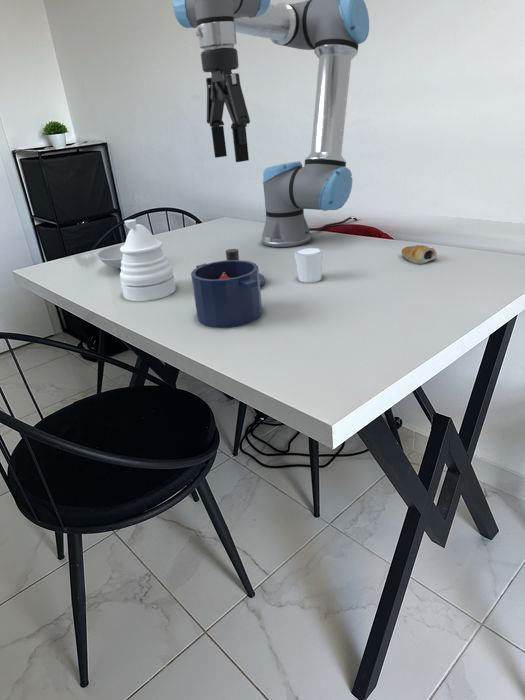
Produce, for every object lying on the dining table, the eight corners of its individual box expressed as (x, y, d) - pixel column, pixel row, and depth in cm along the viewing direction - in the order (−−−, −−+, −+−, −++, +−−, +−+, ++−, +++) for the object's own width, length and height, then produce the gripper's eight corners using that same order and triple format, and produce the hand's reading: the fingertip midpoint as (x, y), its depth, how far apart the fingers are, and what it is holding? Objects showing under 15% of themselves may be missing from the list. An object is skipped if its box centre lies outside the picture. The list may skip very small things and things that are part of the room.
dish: (149, 273, 141) (145, 255, 139) (95, 280, 140) (91, 262, 137) (150, 256, 157) (148, 240, 155) (103, 262, 155) (99, 246, 153)
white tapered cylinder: (305, 285, 122) (304, 256, 119) (291, 278, 128) (289, 250, 124) (329, 279, 125) (328, 251, 121) (314, 272, 130) (313, 245, 127)
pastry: (394, 257, 136) (395, 243, 135) (414, 252, 139) (414, 238, 137) (419, 265, 129) (420, 250, 127) (439, 260, 131) (440, 245, 130)
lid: (242, 271, 136) (239, 239, 132) (277, 283, 125) (274, 248, 121) (195, 286, 128) (190, 252, 124) (228, 299, 117) (223, 263, 114)
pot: (230, 296, 119) (226, 254, 115) (282, 317, 106) (279, 270, 101) (180, 312, 112) (173, 269, 108) (228, 337, 98) (222, 288, 94)
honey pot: (150, 304, 119) (136, 226, 111) (112, 297, 125) (96, 223, 118) (186, 286, 128) (175, 214, 121) (148, 280, 135) (136, 212, 127)
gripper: (184, 56, 113) (198, 157, 123) (221, 43, 93) (235, 166, 102) (215, 53, 116) (227, 153, 125) (259, 40, 95) (269, 160, 105)
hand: (231, 159), depth 114 cm, fingers open, 13 cm apart
